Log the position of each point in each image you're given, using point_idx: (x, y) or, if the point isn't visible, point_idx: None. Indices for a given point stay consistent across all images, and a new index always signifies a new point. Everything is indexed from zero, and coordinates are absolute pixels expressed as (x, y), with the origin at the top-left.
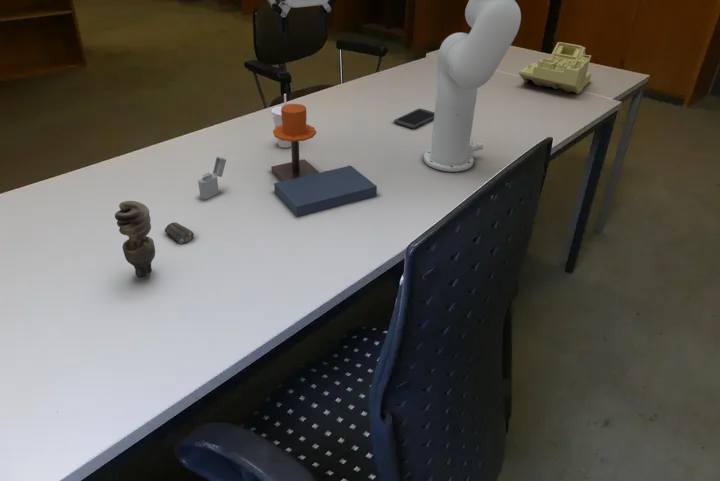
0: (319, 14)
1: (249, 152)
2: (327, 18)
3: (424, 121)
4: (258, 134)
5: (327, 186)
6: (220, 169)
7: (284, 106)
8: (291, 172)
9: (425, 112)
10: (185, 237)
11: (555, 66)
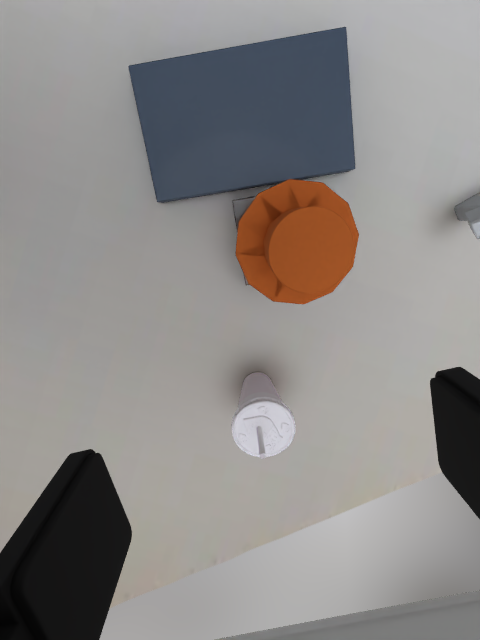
0: (81, 633)
1: (338, 373)
2: (19, 533)
3: None
4: (295, 448)
5: (244, 107)
6: (478, 211)
7: (335, 274)
8: None
9: None
10: None
11: None
